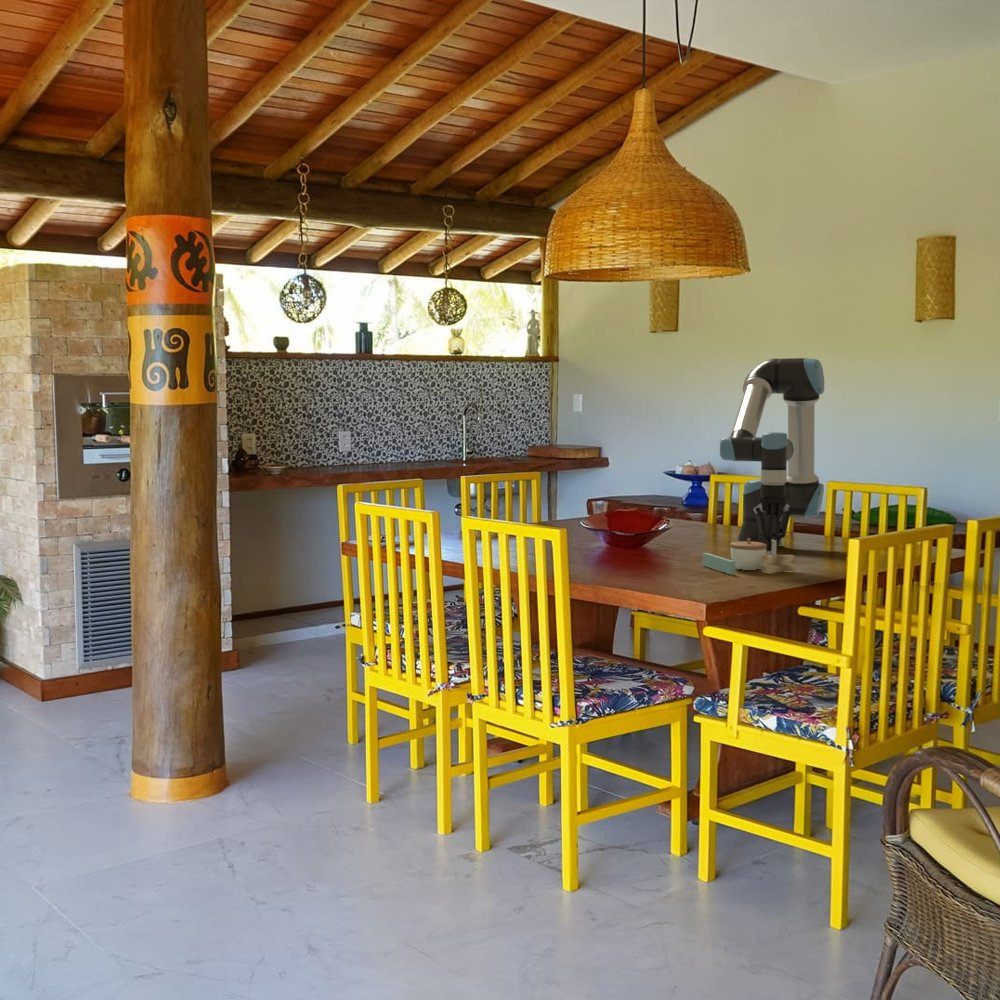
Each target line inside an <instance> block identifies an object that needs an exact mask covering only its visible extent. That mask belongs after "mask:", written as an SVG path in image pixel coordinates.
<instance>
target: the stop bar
mask: <svg viewBox="0 0 1000 1000" xmlns="http://www.w3.org/2000/svg"><path fill="white" fill-rule="evenodd" d="M735 564H736V561H732V559H728V558H725V557H723V556H722V557H721V556H719V555H716V554H711V553H709V552H702V565H703V566H702V565H701V566H702V567H704V566H707V567H710V568H713V569H716V570H719V571H722V572H725V573H727V574H726V575H728V574H730V575H729V576H733V575H732V574H735V575H736V566H735ZM707 567H706V568H707ZM710 568H709V569H710ZM713 569H712V570H713ZM716 570H715V571H716ZM719 571H718V572H719ZM722 572H721V573H722ZM725 573H724V574H725Z"/></svg>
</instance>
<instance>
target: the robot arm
mask: <svg viewBox="0 0 1000 1000" xmlns="http://www.w3.org/2000/svg"><path fill="white" fill-rule="evenodd" d="M742 392H743V396H742V398H741V402H740V405H739V408H738V411H737V414H736V418H735V421H734V424H733V427H732V430H731V433H730V435H727V436H723V437H721V438H720V442H719V454H720V458H721V460H724V461H733V462H760V463H761V467H760V478H757V479H750V480H747V481H745V482H744V485H743V493H742V524H741V527H740V530H739V533H738V534H737V535H738V536H737V539H736V542H741V541H747V538H751V540H750V542H761V543H765V544H767V548H766V556H776V555H777V551H779V548H780V547H779V545H782V542H783V541H782V539H784V538H785V537H786V533H787V530H788V526H789V520H790V518H792V517H793V518H803V519H805V518H816V517H817V516H819V514H820V512H821V507H822V504H823V499H824V493H825V492H824V490H825V489H824V488H825V485H824V484H823V483H820V478H819V477H818V475H817V474H816V473H815V404H816V403H817V402H818V401H819V400H820V395H822V394H824V392H825V376H824V368H823V365H822V363H821V361H820V360H818V359H817V358H808V357H800V358H799V357H795V358H793V357H792V358H787V357H786V358H777V357H776V358H769V359H767V360H765V361H763V362H760V363H759V364H757V365H756V366H755V367H754V368H753V369H752V370H750V372H749V373H748V375H747V376H746V377H745V379H744V382H743V385H742ZM772 394H778V395H779V394H780V395H781V394H782V396H783V398H782V399H783V401H784V402H785V403H786V404H787V433H786V432H781V431H779V432H777V431H776V432H775V431H774V432H772V431H771V432H768V431H767V432H764V433H762V435H761V436H760V437H757V432H758V428H759V426H760V422H761V420H762V416H763V411H764V409H765V405H766V402H767V400H768V399H769V398H770V397H771V395H772ZM787 462H788V463H787ZM782 546H783V545H782Z"/></svg>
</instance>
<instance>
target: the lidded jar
mask: <svg viewBox="0 0 1000 1000" xmlns="http://www.w3.org/2000/svg"><path fill="white" fill-rule="evenodd" d="M750 540H751V538H747V541H741V542H737V541H731V542H730V545H729V546H730V547H729V548H730V556H731V557H730V558H731V560H732V561H736V564H735V568H737V570H739V569H744V570H756V569H758V570H759V569H760V568H762V556H767V550H766V548H767V544H765V543H761V542H750ZM744 570H743V571H744ZM756 571H757V570H756Z"/></svg>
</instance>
